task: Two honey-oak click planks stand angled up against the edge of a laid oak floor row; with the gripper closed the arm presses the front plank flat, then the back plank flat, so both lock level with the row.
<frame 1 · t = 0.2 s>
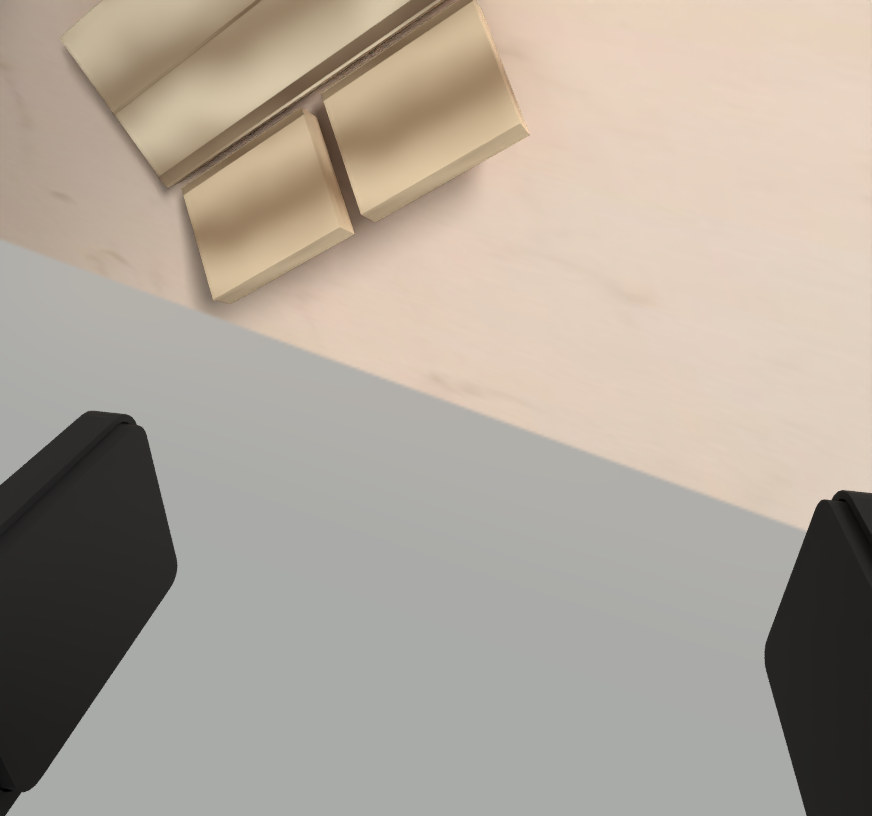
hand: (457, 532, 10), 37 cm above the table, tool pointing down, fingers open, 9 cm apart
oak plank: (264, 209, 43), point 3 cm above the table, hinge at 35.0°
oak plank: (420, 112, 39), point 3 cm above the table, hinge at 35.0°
laid oak floor row: (263, 9, 41), on the table
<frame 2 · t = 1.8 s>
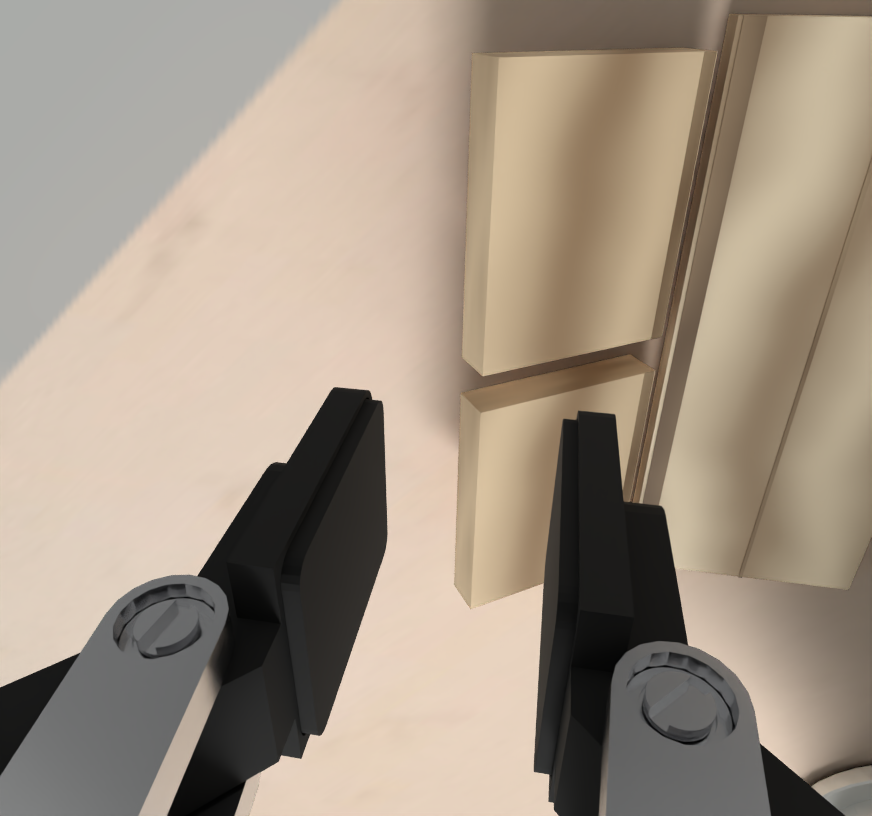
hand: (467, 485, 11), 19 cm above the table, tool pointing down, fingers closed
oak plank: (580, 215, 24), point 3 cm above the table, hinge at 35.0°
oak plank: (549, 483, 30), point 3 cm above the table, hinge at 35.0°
laid oak floor row: (793, 340, 28), on the table
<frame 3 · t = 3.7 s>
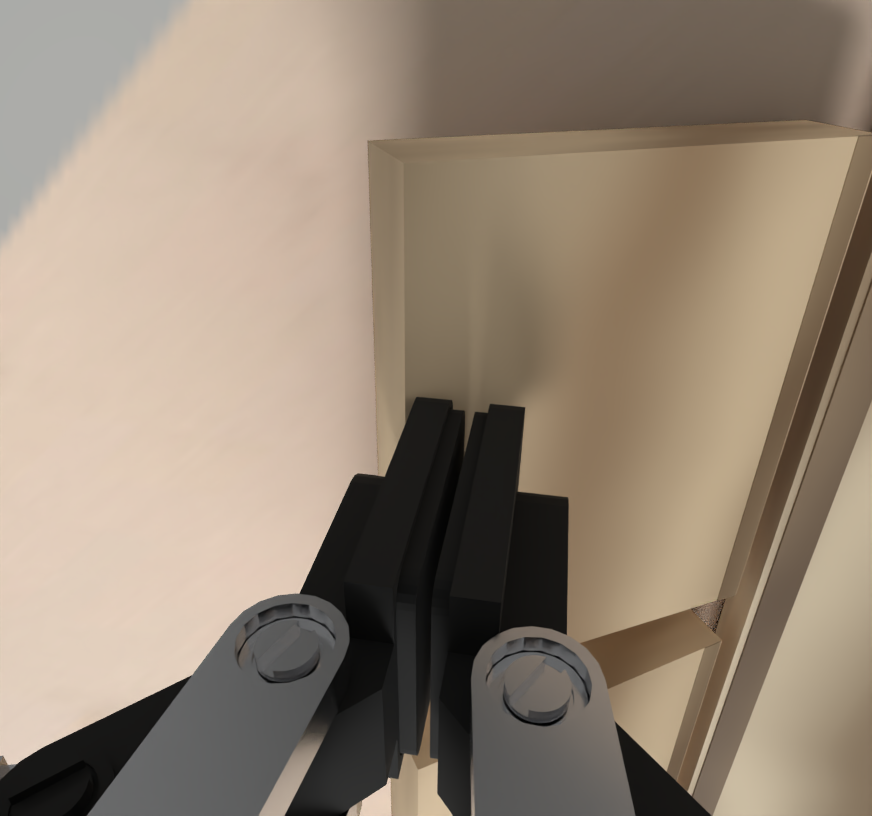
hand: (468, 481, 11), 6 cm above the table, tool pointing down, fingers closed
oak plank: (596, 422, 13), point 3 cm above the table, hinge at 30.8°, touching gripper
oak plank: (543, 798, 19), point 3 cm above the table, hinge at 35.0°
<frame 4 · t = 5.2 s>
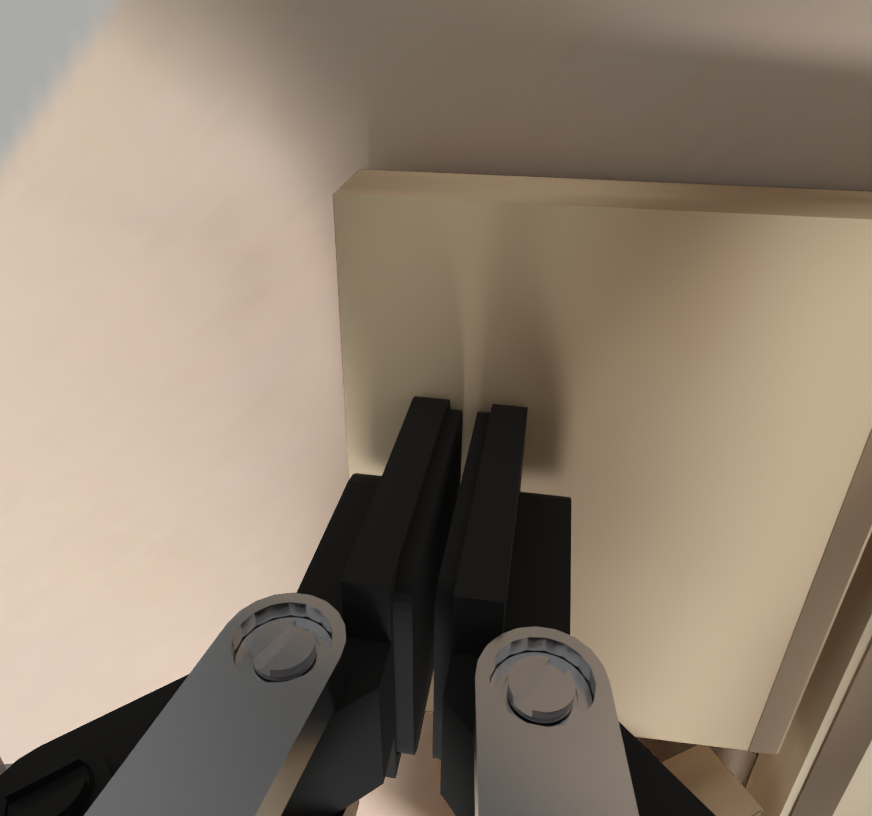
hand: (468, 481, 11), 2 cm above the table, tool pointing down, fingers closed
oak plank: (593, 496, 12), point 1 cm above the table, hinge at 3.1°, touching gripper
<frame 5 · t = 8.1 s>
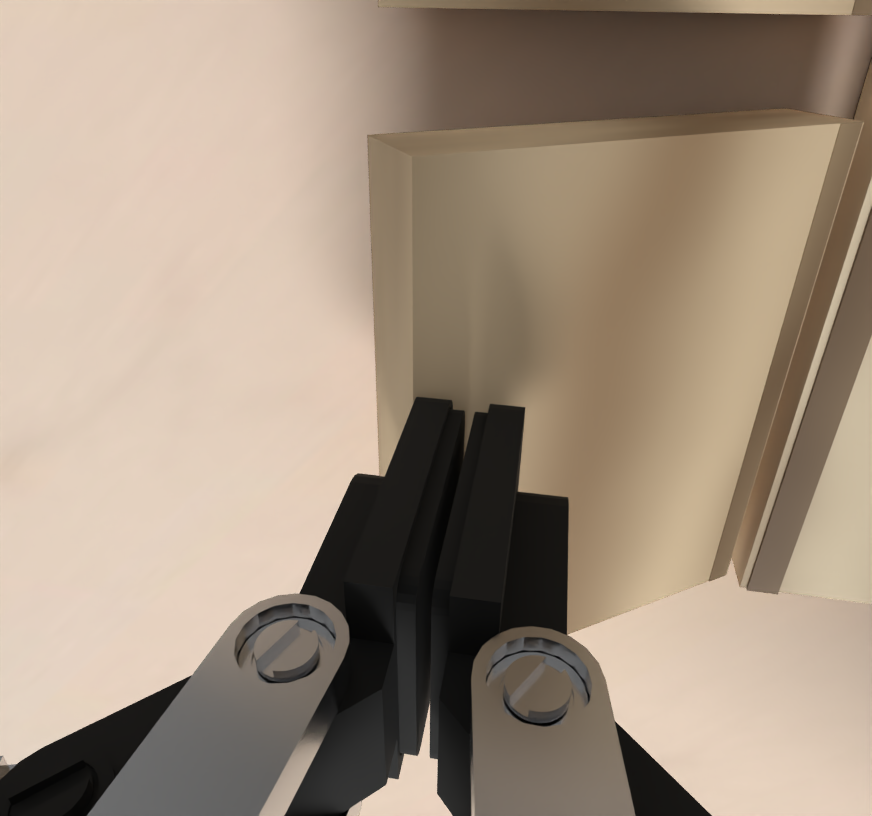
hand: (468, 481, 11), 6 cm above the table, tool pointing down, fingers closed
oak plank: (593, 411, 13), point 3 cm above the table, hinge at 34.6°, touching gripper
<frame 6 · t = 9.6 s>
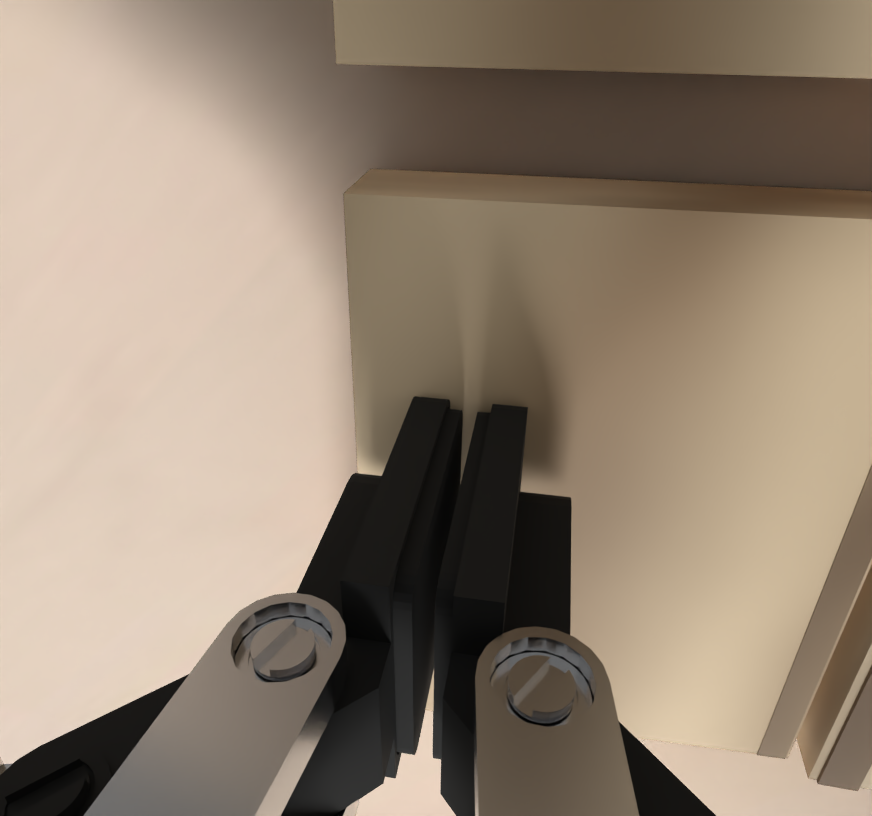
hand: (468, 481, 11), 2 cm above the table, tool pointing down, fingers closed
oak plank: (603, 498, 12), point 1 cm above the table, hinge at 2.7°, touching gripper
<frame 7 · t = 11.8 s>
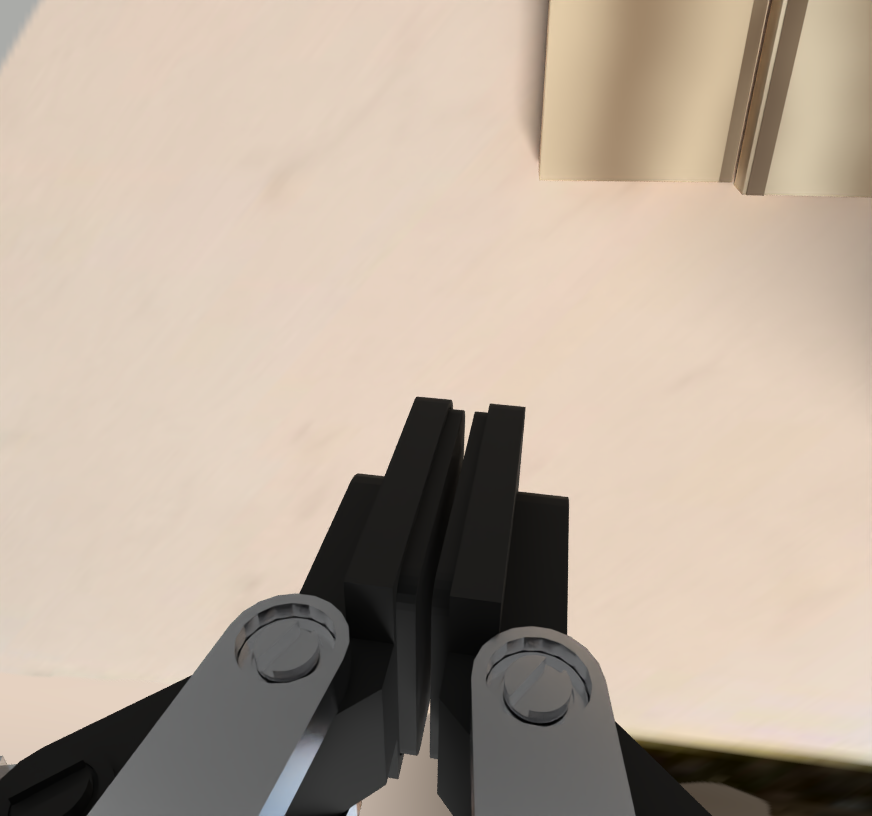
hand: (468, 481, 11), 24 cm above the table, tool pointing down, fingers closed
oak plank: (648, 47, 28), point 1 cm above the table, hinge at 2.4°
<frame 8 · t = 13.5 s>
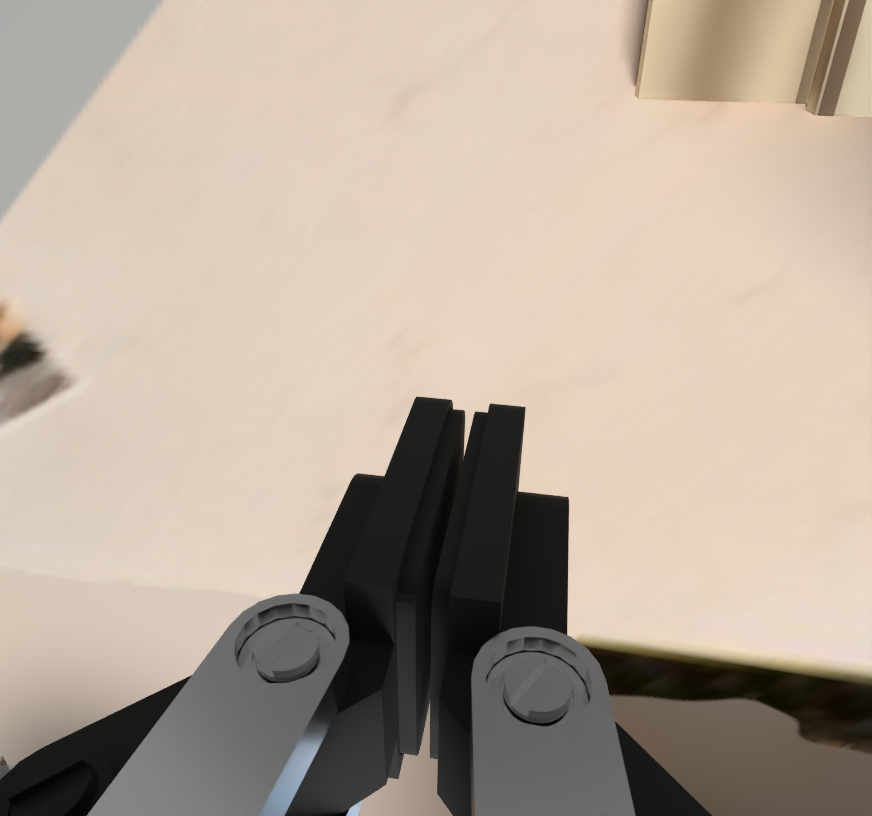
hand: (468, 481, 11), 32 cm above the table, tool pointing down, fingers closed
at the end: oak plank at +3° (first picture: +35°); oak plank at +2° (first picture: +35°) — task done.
